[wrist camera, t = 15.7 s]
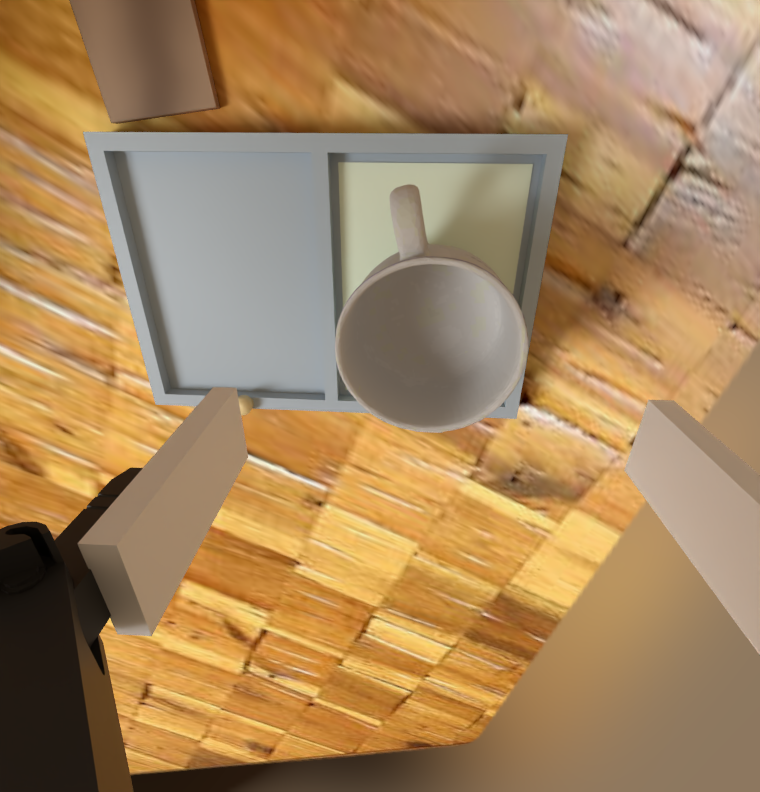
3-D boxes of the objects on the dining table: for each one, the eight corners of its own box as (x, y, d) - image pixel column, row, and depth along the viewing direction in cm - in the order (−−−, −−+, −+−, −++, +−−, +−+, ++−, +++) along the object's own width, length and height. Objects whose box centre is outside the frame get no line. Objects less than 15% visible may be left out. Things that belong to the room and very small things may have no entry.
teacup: (493, 381, 33) (515, 438, 26) (353, 379, 34) (338, 435, 27) (517, 179, 27) (555, 183, 20) (344, 182, 27) (320, 187, 20)
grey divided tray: (169, 394, 37) (151, 411, 34) (105, 134, 28) (73, 130, 26) (510, 407, 36) (518, 426, 33) (556, 136, 27) (572, 133, 24)
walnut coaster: (122, 124, 28) (111, 122, 27) (75, -16, 25) (61, -24, 24) (223, 109, 28) (215, 107, 27) (188, -37, 24) (178, -47, 23)
